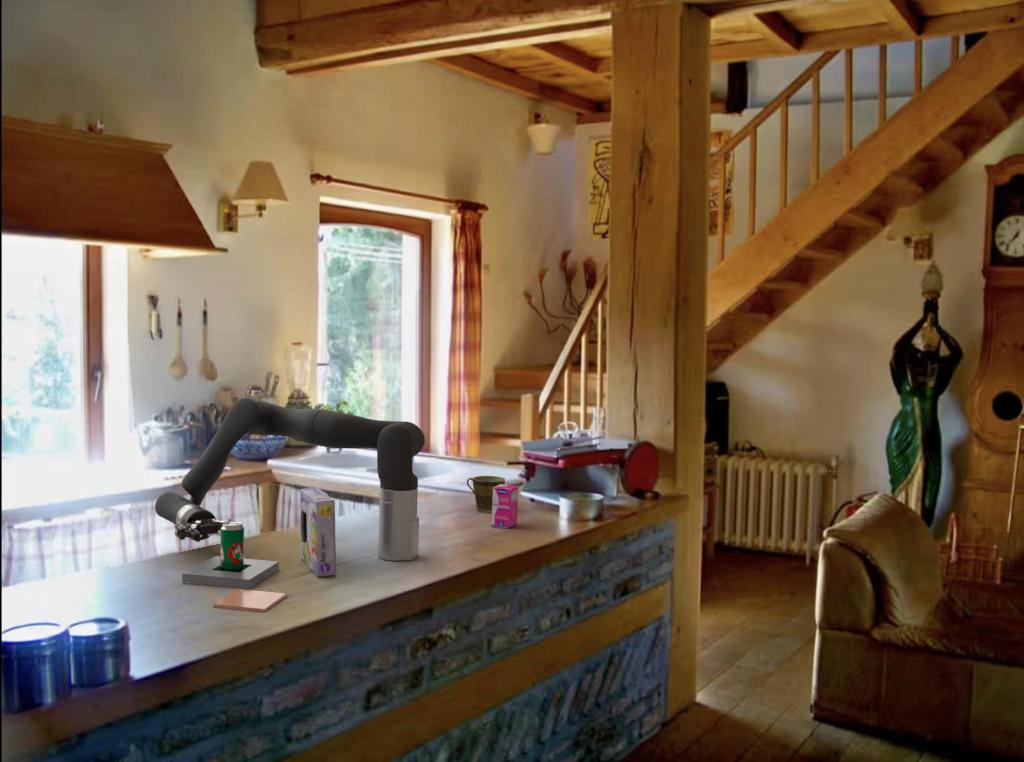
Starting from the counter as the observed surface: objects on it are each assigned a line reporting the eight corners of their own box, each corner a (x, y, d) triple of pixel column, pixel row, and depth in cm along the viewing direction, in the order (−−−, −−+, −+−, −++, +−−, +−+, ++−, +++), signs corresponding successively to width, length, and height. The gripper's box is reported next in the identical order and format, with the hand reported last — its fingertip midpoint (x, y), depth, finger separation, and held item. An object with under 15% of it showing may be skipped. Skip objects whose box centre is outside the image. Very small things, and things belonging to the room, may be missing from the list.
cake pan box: (297, 557, 240) (299, 485, 239) (318, 556, 242) (320, 484, 241) (314, 579, 223) (316, 501, 221) (336, 577, 225) (338, 500, 223)
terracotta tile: (286, 596, 209) (286, 593, 209) (264, 611, 198) (264, 609, 198) (237, 591, 211) (237, 588, 211) (213, 607, 200) (213, 604, 200)
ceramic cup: (510, 510, 304) (511, 478, 303) (492, 516, 295) (493, 482, 294) (475, 504, 310) (476, 473, 310) (456, 509, 302) (457, 477, 301)
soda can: (222, 573, 225) (223, 520, 224) (245, 573, 225) (246, 521, 224) (217, 579, 220) (218, 525, 219) (241, 579, 220) (242, 526, 219)
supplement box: (490, 527, 281) (492, 487, 280) (498, 523, 286) (500, 483, 285) (509, 529, 279) (511, 489, 278) (517, 525, 284) (519, 485, 283)
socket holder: (278, 570, 229) (278, 561, 228) (249, 588, 213) (249, 579, 213) (215, 564, 231) (215, 556, 231) (182, 582, 216) (182, 573, 216)
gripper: (166, 509, 239) (186, 522, 226) (224, 504, 247) (247, 516, 234) (166, 539, 240) (186, 555, 227) (224, 533, 248) (246, 548, 235)
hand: (217, 535), depth 230 cm, fingers open, 8 cm apart
